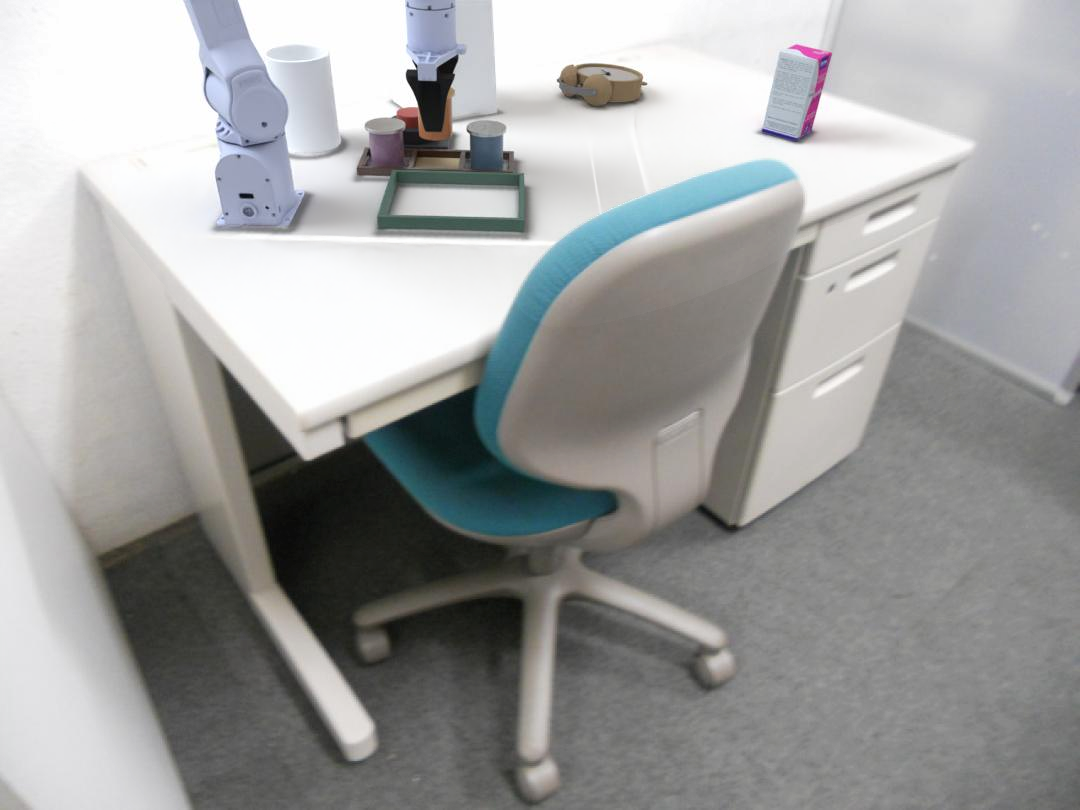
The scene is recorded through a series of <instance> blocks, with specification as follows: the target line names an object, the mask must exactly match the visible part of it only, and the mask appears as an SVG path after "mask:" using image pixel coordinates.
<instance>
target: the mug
mask: <svg viewBox="0 0 1080 810" xmlns="http://www.w3.org/2000/svg"><path fill="white" fill-rule="evenodd" d="M263 61H264V63H265V65H266V68H267V71H268V74H269V77H270V79H271V80H272V82H273V83H274V84H275V85H276V86H277V87H278V88H279V89H280V90H281V92H282V93H283V94H284V96H285V98H286V100H287V104H288V109H289V110H288V120H287V123H286V125H285V133H286V140H287V146H288V152H289V153H292V154H302V155H303V154H306V155H307V154H318V153H324V152H327V151H331V150H333V149H335V148H337V147H338V146H340V145H341V143H342V138H341V135H340V129H339V122H338V115H337V114H338V113H337V106H336V105H337V104H336V97H335V91H334V89H335V88H334V82H333V81H334V80H333V72H332V63H331V56H330V51H329V49H328V48H326V47H323V46H320V45H317V44H316V45H315V44H306V43H293V44H292V43H291V44H283V45H278V46H274V47H271V48H269V49H267V50H265V51H264V52H263Z"/></svg>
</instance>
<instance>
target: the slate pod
mask: <svg viewBox="0 0 1080 810" xmlns="http://www.w3.org/2000/svg"><path fill="white" fill-rule="evenodd" d="M465 130H466V132H467V134H469V150H470V159H469V162H470V166H469V167H470V168H469V169H489V170H504V160H503V151H504V135H505V134H506V133H507V126H506V124H505V123H502V122H500V121H497V120H489V119H487V120H486V119H485V120H484V119H482V120H475V121H471V122H469V123H468V124H467V125H466V129H465Z"/></svg>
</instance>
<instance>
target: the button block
mask: <svg viewBox="0 0 1080 810" xmlns="http://www.w3.org/2000/svg"><path fill="white" fill-rule="evenodd" d="M390 118H396V119H397V114H395V115H393V116H390ZM451 140H452V137H451V138H449V139H446V140H439V141H433V140H426V139H423V138H421V137H420V136H419V128H405V129H404V130H403V143H404V148H411V149H448V150H450V146H451Z"/></svg>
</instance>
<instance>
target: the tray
mask: <svg viewBox="0 0 1080 810" xmlns="http://www.w3.org/2000/svg"><path fill="white" fill-rule="evenodd" d="M398 184H428V185H429V184H432V185H469V186H470V185H471V186H472V185H473V186H509V187H510V186H511V187H513V186H514V187H518V217H506V216H505V217H504V216H503V217H502V216H501V217H499V216H462V215H461V216H459V215H454V216H453V215H419V214H418V215H417V214H416V215H415V214H413V215H412V214H389V212H390V209H391V206H392V202H393V199H394V196H395V193H396V189H397V185H398ZM376 220H377V229H379V230H415V231H416V230H417V231H418V230H423V231H460V232H461V231H463V232H499V233H500V232H502V233H503V232H505V233H509V232H510V233H524V232H525V172H513V173H502V172H463V171H424V170H392V172H391V175H390V176H389V179H388V182H387V185H386V188H385V191H384V194H383V197H382V201H381V203H380V207H379V210H378V212H377V216H376Z"/></svg>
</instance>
